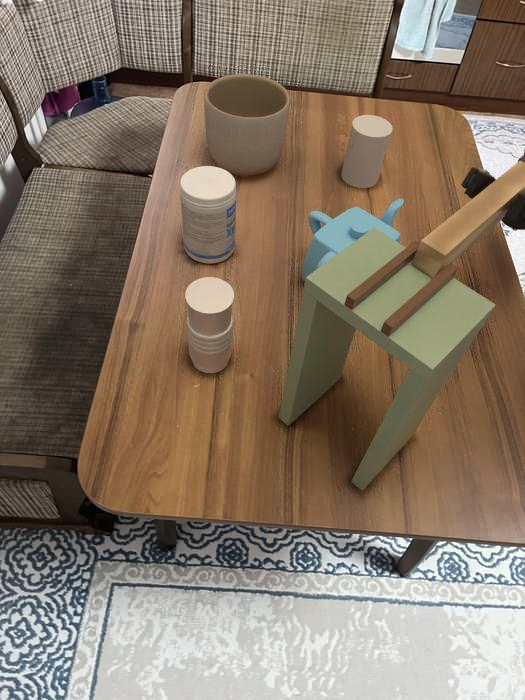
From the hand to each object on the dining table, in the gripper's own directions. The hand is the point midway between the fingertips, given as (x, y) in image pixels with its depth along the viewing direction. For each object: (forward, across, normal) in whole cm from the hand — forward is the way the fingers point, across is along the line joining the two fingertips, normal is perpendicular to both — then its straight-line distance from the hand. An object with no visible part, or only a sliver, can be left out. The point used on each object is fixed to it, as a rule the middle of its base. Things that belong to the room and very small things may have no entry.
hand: (493, 195), depth 60 cm
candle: (+2, +23, -41) cm, 47 cm away
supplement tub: (-12, +42, -32) cm, 54 cm away
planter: (-33, +57, -20) cm, 69 cm away
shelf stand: (-3, 0, -38) cm, 38 cm away
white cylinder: (-47, +37, -12) cm, 61 cm away
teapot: (-25, +19, -25) cm, 40 cm away
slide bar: (-1, 0, -4) cm, 4 cm away
